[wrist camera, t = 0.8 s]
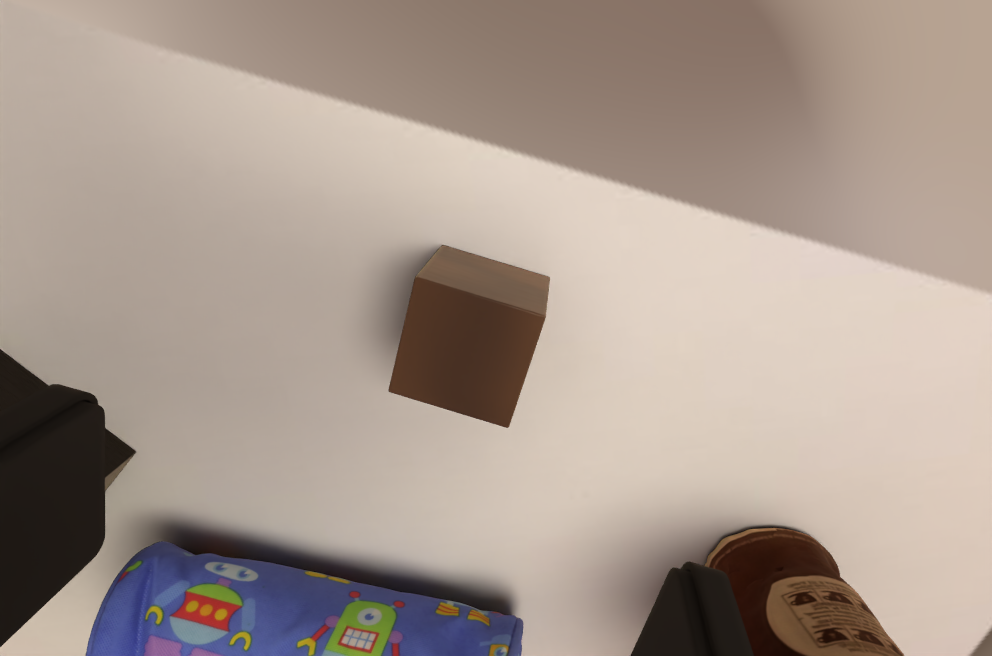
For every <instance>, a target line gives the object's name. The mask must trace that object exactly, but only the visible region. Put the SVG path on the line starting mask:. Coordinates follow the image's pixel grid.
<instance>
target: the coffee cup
mask: <svg viewBox="0 0 992 656" xmlns="http://www.w3.org/2000/svg"><path fill="white" fill-rule="evenodd" d="M707 559H708V560H707V563H706V564H705V565H704V566H706V567H710V568H714V569H717V570H721V571H723V572H725V573H726V574H727V576H728V578H729V581H730V584H731V587H732V590H733V593H734V596H735V599H736V602H737V605H738V609H739V612H740V615H741V618H742V621H743V624H744V627H745V630H746V633H747V636H748V639H749V642H750V645H751V648H752V651H753V654H754V656H904V654H903V653H902V652H901V650H900V649H899V648H898V647H897V645H896V644H895V643H894V642H893V640H892V639H891V638H890V637H889V636H888V635H887V633H886V632H885V631H884V629H883V628H882V626H881V625H880V623H879V621H878V620H877V619H876V617H875V616H874V615H873V613H872V612H871V611H870V609H869V608H868V606H867V605H866V604H865V602H864V601H863V600H862V598H861V597H860V596H859V594H858V593H857V592H856V591H855V590H854V589H853V588H852V587H851V586H850V585H848V584H847V583H846V582H845V581H844V580H843V579H842V578H841V577H840V573H839V569H838V566H837V564H836V562H835V560H834V559H833V557H832V556H831V554H830V553H829V552H828V551H827V550H826V549H825V548H824V547H823V546H822V545H821V544H820V543H819V542H817V541H816V540H815V539H814V538H812V537H811V536H809V535H806V534H803V533H800V532H797V531H794V530H788V529H780V528H764V529H749V530H746V531H744V532H742V533H739V534H735V535H732V536H728V537H726V538H724V539H722V541H721V542H720V543H719V544H718V546H717V547H716V549H715V550H714V551H713V552H712V553H710V554H709V555H708V557H707Z"/></svg>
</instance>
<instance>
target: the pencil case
mask: <svg viewBox="0 0 992 656" xmlns="http://www.w3.org/2000/svg"><path fill="white" fill-rule="evenodd" d="M522 634H523V621H522V620H521V619H520V618H516V617H515V616H514V615H503V614H501V613H499V612H495V611H481V610H479V609H476V608H474V607H471V606H469V605H466V604H463V603H459V602H454V601H448V600H443V599H438V598H433V597H428V596H423V595H419V594H412V593H404V592H398V591H394V590H390V589H386V588H382V587H377V586H372V585H368V584H362V583H356V582H353V581H349V580H346V579H342V578H338V577H333V576H329V575H325V574H321V573H316V572H311V571H306V570H302V569H297V568H293V567H289V566H284V565H280V564H275V563H269V562H263V561H256V560H249V559H239V558H229V557H222V556H219V555H217V554H213V553H207V554H199V555H194V554H192V553H190V552H188V551H186V550H184V549H182V548H180V547H178V546H176V545H175V544H173V543H170V542H165V541H161V542H157V543H155V544H153V545H151V546H149V547H146V548H144V549H143V550H141V551H140V552H138V553H137V554H136V555H135V556H133V557H132V559H131V560H130V561H129V562H128V563H127V564H126V565H125V567H124V568H123V569H122V570H121V571H120V573H119V574H118V575H117V577H116V578H115V580H114V581H113V583H112V585H111V587H110V588H109V590H108V592H107V594H106V596H105V598H104V600H103V602H102V604H101V607H100V609H99V612H98V614H97V617H96V619H95V622H94V624H93V628H92V631H91V634H90V638H89V642H88V647H87V652H86V656H521V651H522V645H521V640H522Z"/></svg>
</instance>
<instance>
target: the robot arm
mask: <svg viewBox="0 0 992 656" xmlns="http://www.w3.org/2000/svg"><path fill="white" fill-rule="evenodd" d="M104 538H105V413H104V410H103V408H102V407H101V406H99V405H98V401H97V399H96V397H95V396H94V395H92V394H91V393H87V392H84V391H80V390H77V389H73V388H70V387H66V386H63V385H59V384H52V385H50V386H47V387H45V388H43V389H41V390H39V391H37V392H35V393H34V394H32V395H30V396H28V397H26V398H24V399H22V400H21V401H19V402H17V403H15V404H13V405H11V406H9V407H8V408H6V409H4V410H2V411H0V647H1V646H2V645H3V644H4V643H5V642H6V641H7V640H8V639H9V638H10V637H11V636H12V635H13V634H15V633H16V632H17V631H18V630H19V629H20V628H21V627H22V626H23V625H24V624H25V623H26V622H27V621H28V620H29V619H30V618H31V617H32V616H33V615H35V614H36V613H37V612H38V611H39V610H40V609H41V608H42V607H43V606H44V605H45V604H46V603H47V602H48V601H49V600H50V599H51V598H52V597H53V596H55V595H56V594H57V593H58V592H59V591H60V590H61V589H62V588H63V587H64V586H65V585H66V584H67V583H68V582H69V581H70V580H71V579H72V578H73V577H74V576H76V575H77V574H78V573H79V572H80V571H81V570H82V569H83V568H84V567H85V566H86V565H87V564H88V563H89V562H90V561H91V560H92V559H93V558H94V557H95V556H96V555H97V553H98V552H99V550H100V548H101V546H102V544H103V541H104ZM631 656H754V654H753V651H752V648H751V645H750V642H749V639H748V636H747V633H746V630H745V627H744V624H743V621H742V618H741V615H740V612H739V609H738V605H737V602H736V599H735V596H734V593H733V590H732V587H731V584H730V581H729V578H728V576H727V574H726V573H725V572H723V571H721V570H717V569H714V568H710V567H706V566H703V565H699V564H696V563H692V562H686V563H685V564H684V565H683V566H682V568H681V569H678V568H672V569H671V570H670V571H669V573H668V575H667V577H666V579H665V582H664V584H663V586H662V588H661V590H660V593H659V595H658V597H657V599H656V601H655V604H654V606H653V608H652V610H651V612H650V614H649V617H648V619H647V621H646V623H645V625H644V628H643V630H642V632H641V634H640V636H639V638H638V641H637V643H636V645H635V647H634V649H633V652H632V654H631Z"/></svg>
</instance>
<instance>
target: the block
mask: <svg viewBox="0 0 992 656" xmlns="http://www.w3.org/2000/svg"><path fill="white" fill-rule="evenodd" d="M549 282H550V278H549V277H547V276H544V275H540V274H537V273H534V272H530V271H527V270H524V269H521V268H517V267H514V266H511V265H507V264H504V263H501V262H497V261H494V260H491V259H488V258H484V257H481V256H478V255H474V254H471V253H468V252H464V251H461V250H458V249H455V248H451V247H448V246H445V245H442V246H441V247H440V248H439V249H438V251H437V252H436V253H435V254H434V255H433V257H432V258H431V259H430V260H429V261H428V262H427V264H426V265H425V266H424V267H423V268H422V270H421V271H420V272H419V273H418V274H417V276H416V277H415V279H414V284H413V288H412V292H411V296H410V301H409V305H408V309H407V313H406V318H405V322H404V326H403V330H402V335H401V339H400V343H399V347H398V352H397V356H396V360H395V365H394V369H393V373H392V377H391V382H390V386H389V392H391V393H394V394H398V395H401V396H404V397H408V398H411V399H414V400H417V401H421V402H424V403H427V404H431V405H434V406H437V407H440V408H444V409H447V410H450V411H454V412H457V413H460V414H463V415H467V416H470V417H473V418H477V419H480V420H483V421H486V422H490V423H493V424H496V425H500V426H503V427H506V428H508V427H509V425H510V422H511V419H512V416H513V413H514V410H515V407H516V404H517V401H518V398H519V395H520V392H521V390H522V387H523V384H524V381H525V378H526V375H527V372H528V369H529V366H530V363H531V360H532V357H533V354H534V351H535V348H536V345H537V342H538V339H539V336H540V333H541V330H542V327H543V324H544V321H545V318H546V310H547V301H548V291H549Z"/></svg>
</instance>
